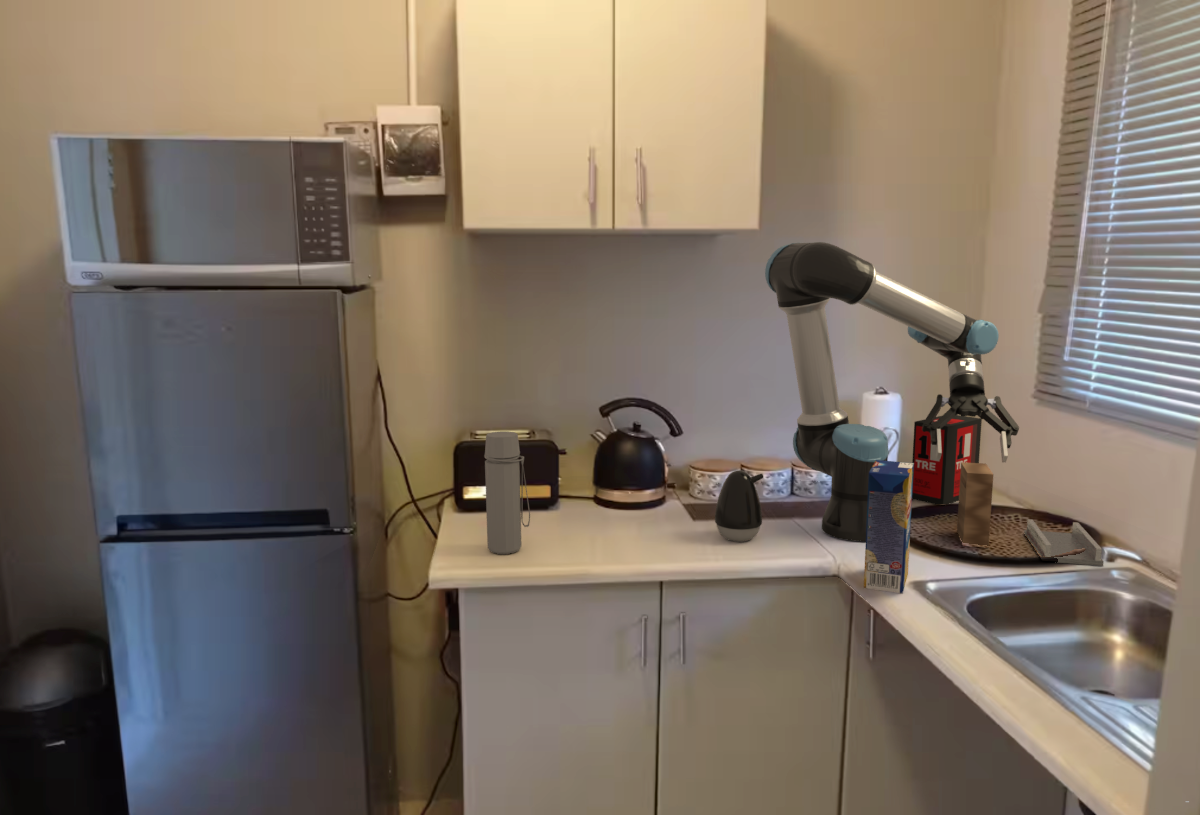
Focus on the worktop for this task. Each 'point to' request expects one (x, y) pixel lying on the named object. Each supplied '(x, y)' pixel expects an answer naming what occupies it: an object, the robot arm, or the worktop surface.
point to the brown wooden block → (975, 503)
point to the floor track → (1065, 544)
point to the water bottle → (503, 492)
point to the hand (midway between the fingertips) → (971, 457)
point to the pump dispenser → (739, 507)
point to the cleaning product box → (944, 459)
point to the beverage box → (888, 525)
